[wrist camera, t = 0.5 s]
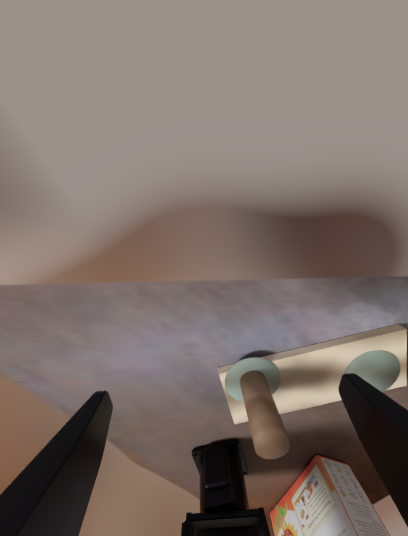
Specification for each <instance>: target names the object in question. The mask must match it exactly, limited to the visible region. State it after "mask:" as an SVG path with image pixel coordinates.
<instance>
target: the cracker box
mask: <svg viewBox="0 0 408 536" xmlns="http://www.w3.org/2000/svg"><path fill="white" fill-rule="evenodd" d="M270 517H271V521H272V525H273V529H274V534H275V536H390V535H389V533H388V531H387V529H386V528H385V526H384V524H383V523H382V521H381V519H380V518H379V516H378V514H377V512H376V511H375V509H374V507H373V505H372V504H371V502H370V500H369V499H368V497H367V495H366V493H365V492H364V490H363V488H362V487H361V485H360V483H359V482H358V480H357V478H356V477H355V475H354V473H353V471H352V470H351V468H350V466H349V465H348V464H346V463H343V462H339V461H336V460H333V459H330V458H326V457H323V456H320V455H316V456H315V457H314V458H313V460H312V461H311V462H310V463H309V465H308V466H307V467H306V468H305V470H304V471H303V472H302V473H301V475H300V476H299V477H298V478H297V480H296V481H295V482H294V483H293V485H292V486H291V487H290V488H289V490H288V491H287V492H286V493H285V495H284V496H283V497H282V499H281V500H280V501H279V502H278V503H277V505H276V506H275V507H274V508H273V510H272V511H271V512H270Z"/></svg>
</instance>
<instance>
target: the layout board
mask: <svg viewBox="0 0 408 536" xmlns="http://www.w3.org/2000/svg"><path fill="white" fill-rule="evenodd" d="M218 371H219V376H220V379H221V382H222V386H223V389H224V392H225V395H226V398H227V402H228V405H229V408H230V411H231V414H232V418H233V421H234V424H238V423H243V422H247V421H248V422H249V426H250V430H251V435H252V439H253V444H254V448H255V452H256V454H257V455H258V456H260V457H262V458H264V459H277V458H280V457H282V456H284V455H285V454H286V453H287V452H288V451H289V449H290V441H289V439H288V436H287V433H286V431H285V428H284V425H283V423H282V420H281V417H280V415H279V414H282V413H287V412H291V411H296V410H300V409H305V408H309V407H313V406H318V405H322V404H327V403H331V402H336V401H340V400H342V399H341V397H340V394H339V390H338V388H339V384H340V381H341V377H342V375H343V374H346V373H354V374H357V375H358V376H360V377H361V378H362V379H364V380H365V381H367V382H368V383H370V384H371V385H372V386H374V387H375V388H377V389H378V390H380V391H381V392H383V391H385V390H389V389H393V388H398V387H402V386H406V378H407V329H406V328H404V327H403V326H401V325H400V324H396V325H392V326H388V327H384V328H380V329H375V330H371V331H367V332H363V333H359V334H355V335H351V336H347V337H342V338H338V339H334V340H330V341H326V342H322V343H318V344H313V345H309V346H305V347H301V348H297V349H293V350H289V351H284V352H280V353H276V354H272V355H268V356H264V357H260V358H259V357H250V358H246V359H243V360H240V361H238V362H237V363H235V364H231V365H226V366H222V367H218Z"/></svg>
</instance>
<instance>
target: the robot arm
mask: <svg viewBox="0 0 408 536" xmlns="http://www.w3.org/2000/svg"><path fill="white" fill-rule="evenodd" d="M338 390H339V394H340V397H341V399H342V401H343V403H344V406H345V408H346V410H347V412H348V415H349V417H350V419H351V421H352V424H353V426H354V428H355V430H356V432H357V435H358V437H359V439H360V441H361V443H362V445H363V446H364V448H365V450H366V452H367V454H368V456H369V457H370V459H371V461H372V463H373V465H374V467H375V468H376V470H377V472H378V474H379V476H380V477H381V479H382V481H383V483H384V485H385V487H386V488H387V490H388V492H389V494H390V496H391V497H392V499H393V501H394V503H395V504H396V506H397V508H398V510H399V512H400V514H401V516H402V517H403V519H404V521H405V523H406V524H407V526H408V410H407V409H405V408H404V407H402V406H401V405H399V404H398V403H397V402H395V401H394V400H392V399H391V398H390V397H388V396H387V395H385V394H384V393H382V392H381V391H380V390H378V389H377V388H375V387H374V386H372V385H371V384H370V383H368V382H367V381H365V380H364V379H362V378H361V377H360V376H358V375H357V374H354V373H346V374H343V375H342V377H341V381H340V384H339V388H338ZM112 409H113V405H112V402H111V399H110V396H109V393H108V392H107V391H97V392H95V393H94V394H93V395H92V396H91V397H90V398H89V399H88V400H87V401H86V402H85V404H84V405H83V406H82V407H81V408H80V409H79V410H78V411H77V412H76V413H75V414H74V415H73V417H72V418H71V419H70V420H69V421H68V422H67V423H66V424H65V425H64V426H63V427H62V428H61V430H60V431H59V432H58V433H57V434H56V435H55V436H54V437H53V438H52V439H51V440H50V442H49V443H48V444H47V445H46V446H45V447H44V448H43V449H42V450H41V451H40V452H39V453H38V455H37V456H36V457H35V458H34V459H33V460H32V461H31V462H30V463H29V464H28V465H27V466H26V467H25V469H24V470H23V471H22V472H21V473H20V474H19V475H18V476H17V477H16V478H15V479H14V480H13V481H12V483H11V484H10V485H9V486H8V487H7V488H6V489H5V490H4V491H3V493H1V494H0V536H78V535H79V532H80V529H81V525H82V522H83V519H84V516H85V513H86V509H87V506H88V503H89V500H90V496H91V493H92V490H93V487H94V483H95V480H96V477H97V474H98V470H99V467H100V464H101V460H102V456H103V452H104V447H105V443H106V438H107V433H108V429H109V424H110V419H111V415H112ZM192 456H193V459H194V461H195V464H196V466H197V468H198V471H199V473H200V513H194V514H192V513H187V515H186V521H185V522H184V523H182V533H181V536H270V532H269V528H268V524H267V521H266V517H265V513H264V509H263V507H261V508H258V509H249V504H248V498H247V492H246V486H245V480H244V475H247V474H248V469H247V466H246V462H245V459H244V456H243V453H242V450H241V446H240V443H239V441H238V440H231V441H227V442H222V443H218V444H213V445H209V446H204V447H200V448H195V449H193V450H192Z"/></svg>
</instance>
